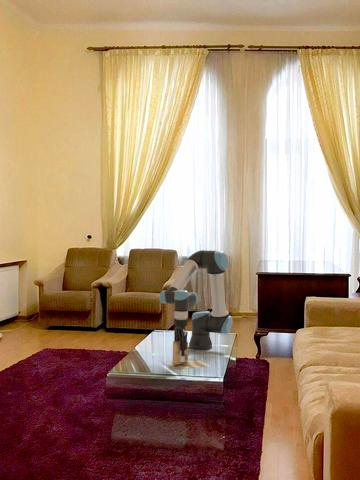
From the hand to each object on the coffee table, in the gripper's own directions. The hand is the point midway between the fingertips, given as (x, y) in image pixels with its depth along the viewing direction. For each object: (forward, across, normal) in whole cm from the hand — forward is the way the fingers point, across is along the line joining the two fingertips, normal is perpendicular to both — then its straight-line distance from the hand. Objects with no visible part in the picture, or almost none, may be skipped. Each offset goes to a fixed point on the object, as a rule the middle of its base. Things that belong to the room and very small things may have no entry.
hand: (180, 360), depth 302 cm
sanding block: (+2, 0, 0) cm, 2 cm away
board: (+4, 0, +5) cm, 6 cm away
